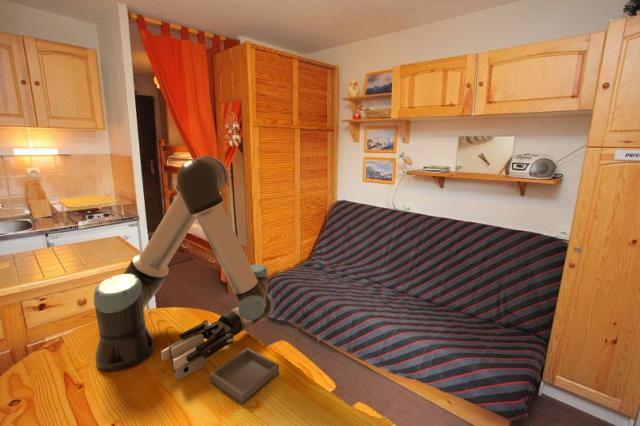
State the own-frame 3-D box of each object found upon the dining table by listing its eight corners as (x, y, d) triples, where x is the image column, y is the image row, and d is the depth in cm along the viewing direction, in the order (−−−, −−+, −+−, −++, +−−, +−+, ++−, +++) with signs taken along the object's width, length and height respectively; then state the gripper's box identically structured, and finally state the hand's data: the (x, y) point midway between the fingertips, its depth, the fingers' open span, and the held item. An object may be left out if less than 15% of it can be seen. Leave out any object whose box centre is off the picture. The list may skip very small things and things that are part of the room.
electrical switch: (177, 382, 88) (175, 352, 86) (167, 373, 91) (165, 344, 89) (208, 364, 95) (206, 335, 93) (198, 356, 98) (196, 329, 96)
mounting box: (210, 383, 88) (209, 373, 87) (247, 356, 99) (247, 347, 98) (242, 405, 81) (242, 395, 80) (279, 373, 92) (279, 364, 91)
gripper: (255, 342, 102) (189, 387, 83) (217, 322, 112) (150, 358, 93) (255, 320, 100) (187, 361, 82) (216, 302, 110) (148, 335, 91)
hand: (168, 360), depth 87 cm, fingers closed on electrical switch, 5 cm apart
